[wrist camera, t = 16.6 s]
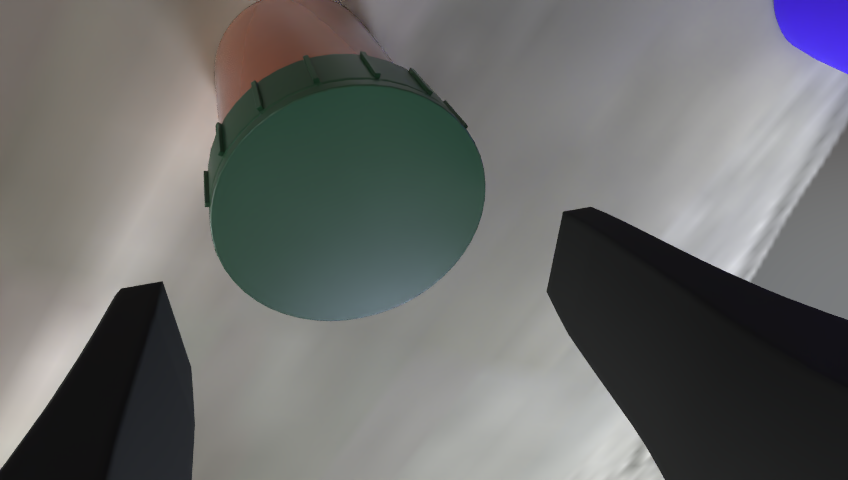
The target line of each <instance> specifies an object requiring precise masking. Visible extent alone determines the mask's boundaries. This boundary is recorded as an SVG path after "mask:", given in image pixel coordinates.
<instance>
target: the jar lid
mask: <svg viewBox="0 0 848 480" xmlns="http://www.w3.org/2000/svg"><path fill="white" fill-rule="evenodd" d="M303 59H304V60H301V61H297V62H295V63H292V64H290V65H288V66H285V67H283V68H280V69H278V70H277V71H275V72H273V73H272V74H270V75H268V76H266V77H265V78H263V79H262V80H260V81H259V82H256V81H255V80H254V81H253V82H251V88H250V89H249V90H248V91H247V92H246V93H245V94H244V95H243V96H242V97H241V98H240V99H239V100H238V101H237V102H236V103H235V104H234V106H233V107H232V108H231V110H230V111H229V113H228V114H227V115H226V117H225V118H224V120H223V122H222V124H221V123H219V122H218V123H217V124H216V136H215V139H214V142H213V145H212V148H211V152H210V158H209V164H208V171H204V197H205V207H209V214H210V228H211V235H212V241H213V244H214V247H215V251H216V253H217V256H218V257H219V259H220V261H221V263H222V265H223V267H224V269H225V270H226V272H227V273H228V274H229V276H230V277H231V278H232V280H233V281H234V282H235V283H236V284H237V285H238V286H239V287H240V288H241V289H242V290H243V291H244V292H245V293H247V294H248V295H249V296H251V297H252V298H254V299H255V300H256V301H258V302H260V303H261V304H263V305H265V306H267V307H269V308H271V309H273V310H276V311H278V312H281V313H283V314H286V315H290V316H294V317H298V318H303V319H310V320H319V321H340V320H351V319H357V318H363V317H367V316H371V315H375V314H379V313H381V312H384V311H387V310H390V309H393V308H395V307H397V306H399V305H402V304H404V303H406V302H408V301H409V300H411V299H413V298H415V297H417V296H418V295H420V294H421V293H423V292H424V291H426V290H427V289H429V288H430V287H431V286H433V285H434V284H435V283H436V282H437V281H439V280H440V279H441V278H442V277H443V276H444V275H445V274H446V273H447V272H448V271H449V270H450V269H451V268H452V267H453V266H454V265H455V264H456V262H457V261H458V260H459V258H460V257H461V256H462V255H463V253H464V252H465V250H466V248H467V247H468V245H469V244H470V242H471V240H472V238H473V236H474V234H475V232H476V230H477V227H478V224H479V221H480V218H481V215H482V211H483V206H484V201H485V175H484V168H483V164H482V160H481V156H480V154H479V151H478V149H477V147H476V145H475V142H474V141H473V139H472V137H471V136H470V134H469V133H468V131H467V130H466V128H467V127H468V126H467V125H466V123H465V122H464V121H463V120H462V119H461V117H460V116H459V115H458V114H457V113H456V112H455V111H454V109H453V108H452V107H451V106H450V105H449V104H448V103H447V101H446V100H445V101H442V100H441V99H440V98H439V97H438V96H437V95H436V93H435V92H434V91H433V90H432V89H431V88H430V87H429V86H428V85H427V84H426V83H425V82H424V81H423V79H422V78H421V77H420V76H419V75H418V74H417V72H416V71H415V70H414V69H412V68H410V69H409V71H408V70H406V69H405V68H403V67H401V66H398V65H396V64H394V63H391V62H389V61H386V60H383V59H379V58H375V57H372V56H368V55H367V54H366V52H364V51H360V55H357V54H330V55H323V56H316V57H312V58H309V56H308V55H305V56H303Z"/></svg>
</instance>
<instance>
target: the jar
mask: <svg viewBox="0 0 848 480" xmlns="http://www.w3.org/2000/svg"><path fill="white" fill-rule="evenodd" d="M360 51H364V52H366V54H367V55H368V56H372V57H375V58H379V59H383V60H386V61H389V62H391V63H393V62H392V60H391V59H390V58H389V57H388V55H387V54H386V53H385V52H384V50H383V49H382V48H381V46H380V45H379V44H378V43H377V41H376V40H375V39H374V38H373V36H372V35H371V34H370V33H369V31H368V30H367V29H366V28H365V26H364V25H363V24H362V23H361V22H360V21H359V19H358V18H357V17H356V16H355V15H354V14H352V13H351V12H350V11H349V10H348V9H346V8H345V7H343V6H342V5H340V4H339V3H336V2H334V1H332V0H260V1H258V2H256V3H255V4H253V5H251V6H249V7H248V8H247V9H245V10H244V11H243V12H242V13H240V14H239V15H238V16H237V17H236V18H235V20H234V21H233V22H232V23H231V24H230V26H229V27H228V29H227V30H226V31H225V33H224V35H223V37H222V39H221V41H220V44H219V47H218V50H217V54H216V59H215V70H214V76H215V87H216V99H217V110H218V122H219V123H221V124H222V122H223V120H224V118H225V117H226V115H227V114H228V113H229V111H230V110H231V108H232V107H233V106H234V104H235V103H236V102H237V101H238V100H239V99H240V98H241V97H242V96H243V95H244V94H245V93H246V92H247V91H248V90H249V89H250V88H251V82H253V81H254V80H255V81H256V82H259V81H260V80H262V79H263V78H265V77H266V76H268V75H270V74H272V73H273V72H275V71H277V70H278V69H280V68H283V67H285V66H288V65H290V64H292V63H295V62H297V61H301V60H304V59H303V56H305V55H308V56H309V58H312V57H316V56H323V55H330V54H357V55H360Z"/></svg>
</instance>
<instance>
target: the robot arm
mask: <svg viewBox="0 0 848 480" xmlns="http://www.w3.org/2000/svg"><path fill="white" fill-rule="evenodd" d="M547 293H548V295H549V297H550V299H551V301H552V303H553V305H554V307H555V309H556V312H557V314H558V316H559V317H560V319H561V321H562V323H563V325H564V327H565V329H566V330H567V332H568V334H569V336H570V337H571V339H572V340H573V342H574V343H575V345H576V346H577V348H578V349H579V350H580V352H581V353H582V355H583V356H584V358H585V359H586V360H587V362H588V363H589V365H590V366H591V368H592V369H593V370H594V372H595V373H596V375H597V376H598V378H599V379H600V380H601V382H602V383H603V385H604V386H605V387H606V389H607V390H608V392H609V393H610V394H611V396H612V397H613V399H614V400H615V401H616V403H617V404H618V406H619V407H620V409H621V410H622V411H623V413H624V414H625V416H626V417H627V418H628V420H629V421H630V423H631V424H632V425H633V427H634V428H635V430H636V432H637V433H638V435H639V436H640V438H641V439H642V441H643V442H644V444H645V445H646V447H647V449H648V450H649V452H650V454H651V456H652V457H653V459H654V461H655V463H656V464H657V466H658V468H659V470H660V472H661V473H662V475H663V477H664V479H665V480H848V320H846V319H844V318H841V317H838V316H834V315H832V314H829V313H826V312H823V311H821V310H818V309H816V308H813V307H810V306H807V305H804V304H802V303H799V302H797V301H794V300H791V299H788V298H786V297H784V296H781V295H779V294H776V293H774V292H771V291H769V290H766V289H764V288H761V287H759V286H757V285H755V284H753V283H750V282H748V281H746V280H743V279H741V278H739V277H737V276H734V275H732V274H730V273H728V272H725V271H723V270H721V269H719V268H717V267H715V266H713V265H711V264H708V263H706V262H704V261H702V260H700V259H698V258H696V257H694V256H692V255H690V254H688V253H686V252H684V251H682V250H680V249H678V248H676V247H674V246H672V245H670V244H668V243H666V242H664V241H662V240H660V239H658V238H656V237H654V236H652V235H650V234H648V233H646V232H644V231H642V230H640V229H638V228H636V227H634V226H632V225H630V224H628V223H626V222H624V221H622V220H620V219H618V218H615V217H613V216H611V215H609V214H607V213H604V212H602V211H600V210H597V209H595V208H592V207H587V208H582V209H576V210H570V211H565V212H563V215H562V220H561V225H560V229H559V234H558V239H557V244H556V249H555V254H554V258H553V263H552V268H551V273H550V278H549V283H548V287H547ZM194 429H195V419H194V401H193V387H192V373H191V366H190V363H189V360H188V357H187V354H186V351H185V348H184V345H183V342H182V338H181V335H180V332H179V329H178V326H177V323H176V320H175V317H174V314H173V311H172V308H171V305H170V302H169V299H168V296H167V293H166V290H165V287H164V284H163V281H162V282H157V283H151V284H145V285H139V286H134V287H128V288H122V289H120V291H119V292H118V293H117V294H116V295H115V297H114V299H113V300H112V302H111V304H110V306H109V307H108V309H107V311H106V312H105V314H104V316H103V318H102V319H101V321H100V323H99V325H98V326H97V328H96V330H95V331H94V333H93V335H92V336H91V338H90V340H89V341H88V343H87V344H86V346H85V348H84V349H83V351H82V353H81V354H80V356H79V358H78V359H77V361H76V362H75V364H74V365H73V367H72V368H71V370H70V371H69V373H68V374H67V376H66V378H65V379H64V381H63V382H62V384H61V385H60V387H59V388H58V390H57V391H56V393H55V394H54V396H53V397H52V399H51V400H50V402H49V403H48V405H47V406H46V408H45V409H44V411H43V412H42V414H41V415H40V416H39V418H38V419H37V420H36V422H35V423H34V425H33V426H32V427H31V429H30V430H29V431H28V433H27V434H26V436H25V437H24V438H23V440H22V441H21V442H20V444H19V445H18V447H17V448H16V449H15V451H14V452H13V453H12V455H11V456H10V458H9V459H8V460H7V462H6V463H5V464H4V466H3V467H2V468H1V469H0V480H192V465H193V447H194Z"/></svg>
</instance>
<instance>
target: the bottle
mask: <svg viewBox="0 0 848 480" xmlns="http://www.w3.org/2000/svg"><path fill="white" fill-rule="evenodd" d="M774 10H775V15H776V19H777V21H778V24H779V26H780V29H781V31H782V33H783V34H784V36H785V38H786V39H787V40H788V41H789V42H790V43H791V44H792V45H793V46H795V47H797V48H798V49H800V50H802V51H803V52H805V53H806V54H808V55H810V56H811V57H813V58H815V59H817V60H818V61H821V62H823V63H825V64H827V65H829V66H831V67H834V68H836V69H838V70H840V71H842V72H844V73H846V74H848V0H774Z"/></svg>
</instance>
